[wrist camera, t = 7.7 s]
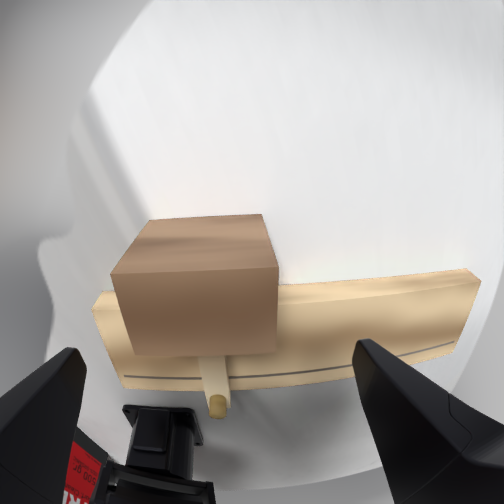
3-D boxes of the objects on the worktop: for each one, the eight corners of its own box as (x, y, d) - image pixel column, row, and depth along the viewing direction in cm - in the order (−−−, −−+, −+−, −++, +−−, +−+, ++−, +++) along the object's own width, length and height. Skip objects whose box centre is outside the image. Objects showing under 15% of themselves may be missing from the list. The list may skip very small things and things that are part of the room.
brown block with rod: (261, 364, 20) (271, 433, 15) (178, 366, 20) (169, 435, 14) (261, 214, 15) (278, 267, 10) (149, 220, 15) (110, 273, 10)
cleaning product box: (64, 413, 23) (22, 565, 5) (108, 453, 26) (87, 585, 8) (-7, 406, 24) (-48, 509, 5) (31, 442, 27) (3, 540, 9)
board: (441, 338, 21) (452, 353, 19) (129, 368, 20) (123, 388, 18) (466, 268, 18) (481, 281, 16) (102, 291, 17) (91, 309, 15)
